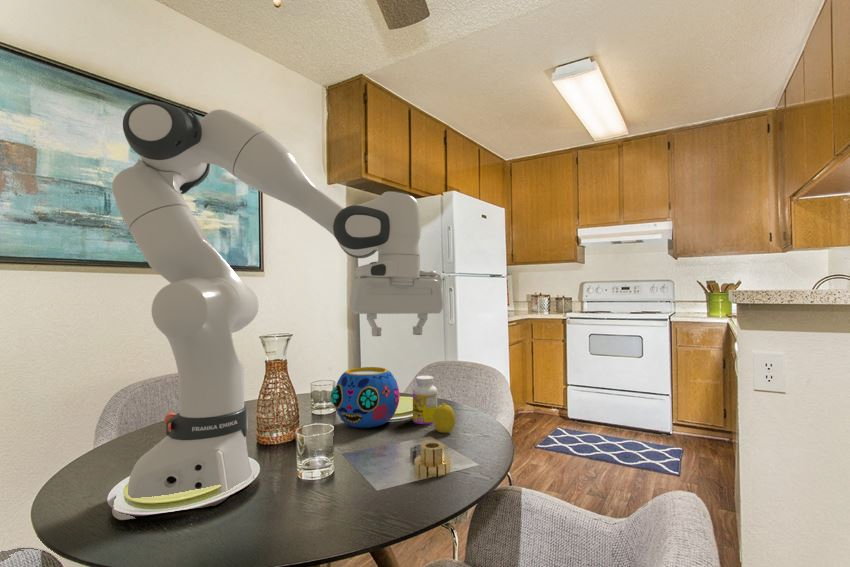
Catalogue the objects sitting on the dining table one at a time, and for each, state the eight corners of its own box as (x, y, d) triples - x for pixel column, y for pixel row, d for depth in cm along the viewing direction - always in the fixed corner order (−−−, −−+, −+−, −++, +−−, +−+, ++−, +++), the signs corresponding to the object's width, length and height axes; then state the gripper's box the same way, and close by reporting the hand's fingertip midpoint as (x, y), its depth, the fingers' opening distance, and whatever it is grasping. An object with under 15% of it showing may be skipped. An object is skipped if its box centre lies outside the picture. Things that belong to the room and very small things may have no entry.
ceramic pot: (320, 432, 111) (319, 374, 111) (356, 414, 128) (356, 363, 128) (379, 440, 104) (379, 378, 105) (410, 420, 121) (409, 366, 121)
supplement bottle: (408, 423, 118) (407, 376, 118) (429, 419, 121) (428, 373, 121) (420, 430, 112) (420, 380, 112) (442, 425, 115) (441, 377, 116)
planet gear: (425, 479, 80) (425, 454, 80) (408, 466, 86) (408, 443, 86) (457, 471, 83) (457, 447, 83) (439, 459, 89) (438, 437, 89)
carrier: (376, 497, 76) (376, 470, 76) (341, 459, 93) (341, 437, 93) (479, 470, 86) (479, 447, 86) (430, 441, 104) (430, 421, 104)
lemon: (455, 431, 110) (455, 400, 110) (455, 439, 105) (454, 406, 105) (434, 431, 111) (433, 400, 111) (432, 438, 105) (431, 406, 105)
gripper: (434, 272, 98) (433, 332, 98) (348, 268, 89) (346, 335, 89) (448, 271, 93) (447, 335, 93) (358, 266, 83) (356, 338, 83)
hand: (397, 335), depth 91 cm, fingers open, 8 cm apart
